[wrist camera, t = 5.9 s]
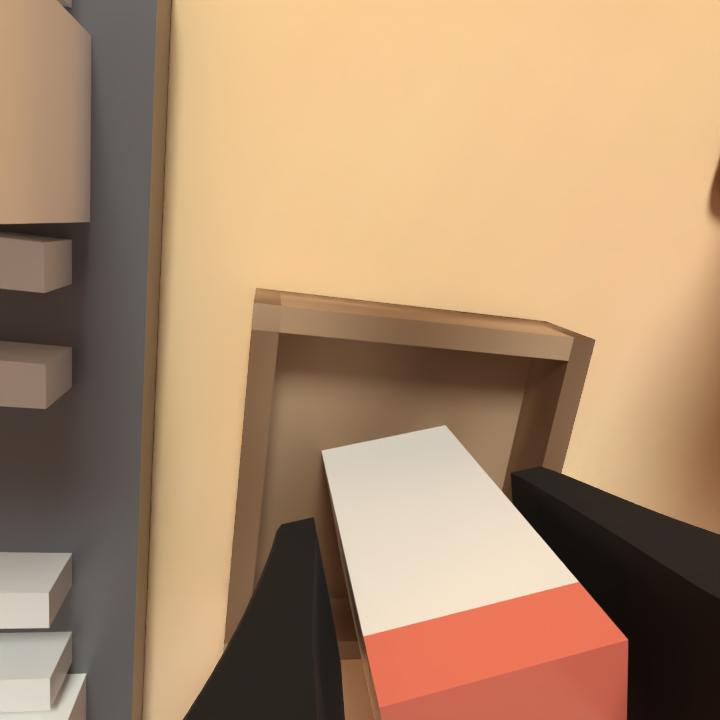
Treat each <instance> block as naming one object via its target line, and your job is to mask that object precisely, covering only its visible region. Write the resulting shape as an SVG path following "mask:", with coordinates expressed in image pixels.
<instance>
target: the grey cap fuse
mask: <svg viewBox="0 0 720 720" xmlns="http://www.w3.org/2000/svg"><path fill="white" fill-rule="evenodd" d="M90 158H91V35H90V34H89V33H88V32H87V31H86V30H85V29H84V28H83V27H82V26H81V25H80V24H79V23H78V22H77V21H76V19H75V18H74V17H73V16H72V15H71V14H70V13H69V12H68V11H67V10H66V9H65V8H64V7H63V6H62V5H61V4H60V3H59V2H58V1H57V0H0V224H27V223H73V222H90Z"/></svg>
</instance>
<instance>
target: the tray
mask: <svg viewBox="0 0 720 720" xmlns="http://www.w3.org/2000/svg"><path fill="white" fill-rule="evenodd" d="M594 344H595V340H594V339H592V338H589V337H586V336H583V335H581V334H578V333H575V332H573V331H570V330H567V329H565V328H562V327H559V326H557V325H554V324H551V323H549V322H546V321H537V320H529V319H520V318H511V317H502V316H494V315H485V314H476V313H468V312H459V311H450V310H441V309H433V308H424V307H415V306H407V305H398V304H389V303H380V302H372V301H363V300H354V299H346V298H337V297H328V296H319V295H311V294H302V293H293V292H285V291H276V290H267V289H259V288H256V294H255V299H254V307H253V319H252V330H251V342H250V353H249V365H248V376H247V388H246V399H245V411H244V422H243V434H242V445H241V457H240V468H239V479H238V491H237V502H236V514H235V525H234V537H233V548H232V560H231V571H230V583H229V594H228V606H227V617H226V629H225V640H224V651H225V649H226V647H227V645H228V643H229V641H230V639H231V638H232V636H233V634H234V632H235V630H236V628H237V626H238V624H239V622H240V620H241V618H242V616H243V614H244V612H245V610H246V608H247V606H248V604H249V601H250V599H251V597H252V595H253V592H254V590H255V588H256V586H257V583H258V581H259V579H260V577H261V574H262V572H263V569H264V567H265V564H266V561H267V559H268V556H269V553H270V551H271V548H272V545H273V541H274V538H275V535H276V531H277V530H278V528H279V527H280V526H281V524H285V523H289V522H294V521H298V520H303V519H307V518H312V517H314V521H315V526H316V531H317V536H318V541H319V546H320V551H321V556H322V561H323V567H324V572H325V577H326V582H327V587H328V592H329V597H330V602H331V607H332V613H333V619H334V625H335V631H336V637H337V643H338V649H339V655H340V659H362V658H361V653H360V648H359V644H358V639H357V634H356V629H355V625H354V620H353V615H352V610H351V606H350V601H349V596H348V591H347V587H346V582H345V577H344V572H343V568H342V563H341V558H340V552H339V547H338V541H337V535H336V530H335V524H334V518H333V513H332V507H331V502H330V496H329V490H328V485H327V479H326V474H325V468H324V462H323V457H322V450H327V449H332V448H337V447H342V446H347V445H352V444H357V443H361V442H366V441H371V440H376V439H381V438H386V437H391V436H396V435H400V434H405V433H410V432H415V431H420V430H425V429H430V428H435V427H440V426H444V425H446V426H447V428H448V429H449V430H450V431H451V432H452V433H453V435H454V436H455V437H456V438H457V439H458V441H459V442H460V443H461V444H462V445H463V446H464V448H465V449H466V450H467V451H468V452H469V453H470V455H471V456H472V457H473V458H474V459H475V460H476V462H477V463H478V464H479V465H480V466H481V468H482V469H483V470H484V471H485V472H486V473H487V475H488V476H489V477H490V478H491V479H492V480H493V482H494V483H495V484H496V485H497V486H498V487H499V489H500V490H501V491H502V492H503V493H504V495H505V496H506V497H507V498H508V499H509V500H510V502H511V503H512V487H511V473H512V472H516V471H520V470H525V469H529V468H534V467H538V466H541V467H544V468H547V469H550V470H553V471H556V472H558V473H561V472H562V468H563V464H564V460H565V456H566V453H567V449H568V445H569V441H570V437H571V433H572V429H573V425H574V421H575V417H576V414H577V410H578V406H579V402H580V398H581V394H582V390H583V386H584V382H585V379H586V375H587V371H588V367H589V363H590V359H591V355H592V351H593V347H594ZM512 504H513V503H512ZM224 651H223V653H224Z"/></svg>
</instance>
